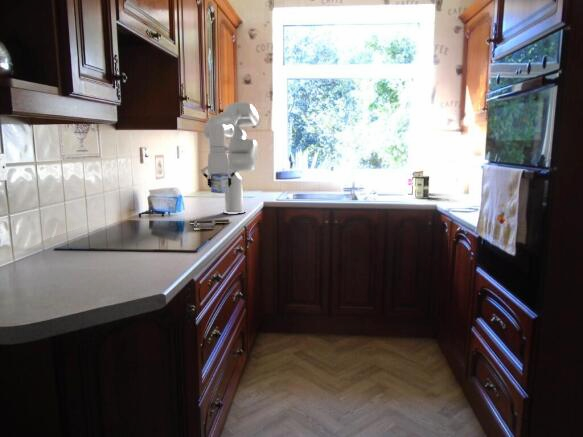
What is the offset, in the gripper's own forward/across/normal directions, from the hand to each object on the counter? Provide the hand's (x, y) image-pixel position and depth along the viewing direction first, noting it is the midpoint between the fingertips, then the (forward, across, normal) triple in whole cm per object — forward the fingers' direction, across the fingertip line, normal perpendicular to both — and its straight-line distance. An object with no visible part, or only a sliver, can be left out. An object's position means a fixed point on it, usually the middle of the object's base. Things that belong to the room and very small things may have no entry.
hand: (219, 186), depth 215 cm
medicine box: (+3, 0, 0) cm, 3 cm away
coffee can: (+20, -130, -63) cm, 145 cm away
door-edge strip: (+16, +5, +8) cm, 19 cm away
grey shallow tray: (+16, +7, +16) cm, 24 cm away
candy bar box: (+20, -135, -84) cm, 160 cm away
